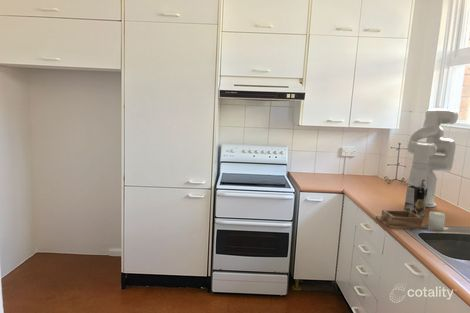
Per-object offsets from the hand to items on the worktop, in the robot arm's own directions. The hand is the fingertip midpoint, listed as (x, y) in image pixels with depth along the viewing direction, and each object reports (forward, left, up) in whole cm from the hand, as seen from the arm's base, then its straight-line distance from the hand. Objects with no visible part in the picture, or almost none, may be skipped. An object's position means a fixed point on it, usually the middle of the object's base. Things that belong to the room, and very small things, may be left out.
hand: (416, 197), depth 192 cm
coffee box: (0, 0, -11) cm, 11 cm away
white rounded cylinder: (+18, +1, -11) cm, 21 cm away
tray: (+14, -15, -10) cm, 23 cm away
